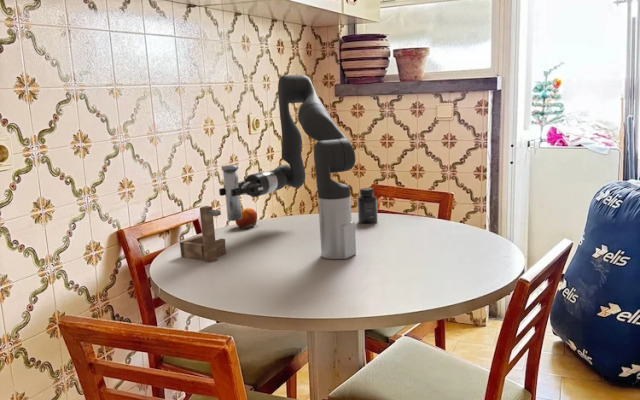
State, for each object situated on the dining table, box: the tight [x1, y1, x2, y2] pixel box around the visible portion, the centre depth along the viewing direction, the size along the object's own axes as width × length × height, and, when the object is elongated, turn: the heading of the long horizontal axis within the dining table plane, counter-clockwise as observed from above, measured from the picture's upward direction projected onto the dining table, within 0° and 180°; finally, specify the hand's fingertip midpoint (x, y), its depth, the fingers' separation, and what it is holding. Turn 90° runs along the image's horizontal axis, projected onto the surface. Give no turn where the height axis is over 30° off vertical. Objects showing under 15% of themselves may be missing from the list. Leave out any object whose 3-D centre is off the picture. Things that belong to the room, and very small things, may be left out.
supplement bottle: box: [357, 187, 379, 225], centre depth 200 cm, size 7×7×12 cm
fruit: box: [235, 207, 258, 229], centre depth 204 cm, size 8×8×8 cm
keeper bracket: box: [179, 205, 227, 263], centre depth 167 cm, size 16×9×16 cm, turn 56°
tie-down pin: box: [221, 164, 242, 222], centre depth 176 cm, size 5×5×17 cm
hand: (226, 192), depth 174 cm, fingers closed on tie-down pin, 4 cm apart
